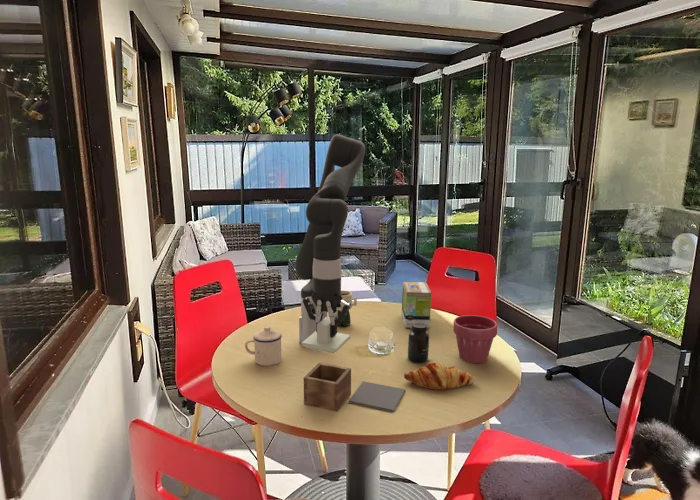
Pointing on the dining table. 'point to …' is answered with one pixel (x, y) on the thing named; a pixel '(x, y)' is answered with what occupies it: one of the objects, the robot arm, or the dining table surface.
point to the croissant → (439, 376)
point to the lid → (325, 338)
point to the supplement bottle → (418, 343)
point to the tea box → (416, 303)
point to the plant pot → (474, 337)
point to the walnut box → (327, 386)
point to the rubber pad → (377, 396)
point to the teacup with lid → (266, 346)
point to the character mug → (348, 298)
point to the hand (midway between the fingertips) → (326, 335)
